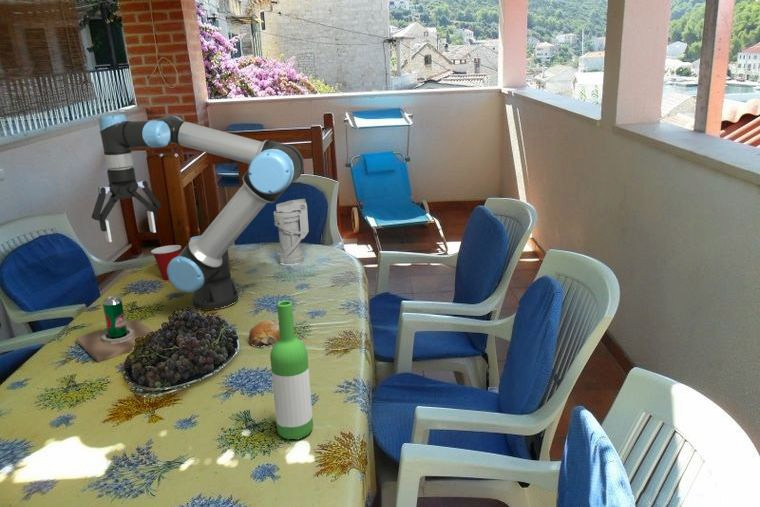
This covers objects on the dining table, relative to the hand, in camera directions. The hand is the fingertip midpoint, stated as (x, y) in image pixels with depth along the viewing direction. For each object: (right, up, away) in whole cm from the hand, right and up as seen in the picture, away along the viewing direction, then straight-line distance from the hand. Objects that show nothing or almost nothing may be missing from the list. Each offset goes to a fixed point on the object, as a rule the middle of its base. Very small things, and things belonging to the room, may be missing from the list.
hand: (131, 236), depth 184 cm
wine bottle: (+58, -44, -55) cm, 91 cm away
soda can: (0, -30, -10) cm, 31 cm away
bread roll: (+44, -31, -12) cm, 55 cm away
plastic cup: (-3, -15, +43) cm, 45 cm away
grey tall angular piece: (+42, -9, +56) cm, 71 cm away
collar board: (0, -31, -9) cm, 32 cm away
